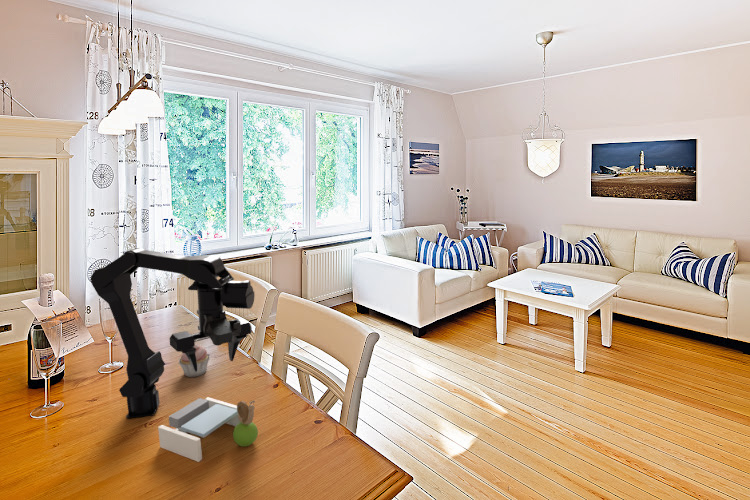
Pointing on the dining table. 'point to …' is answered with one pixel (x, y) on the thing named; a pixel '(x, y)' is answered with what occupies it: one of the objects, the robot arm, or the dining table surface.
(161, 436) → the frame
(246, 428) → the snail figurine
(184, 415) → the trapdoor
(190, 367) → the cupcake
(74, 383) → the dining table surface
